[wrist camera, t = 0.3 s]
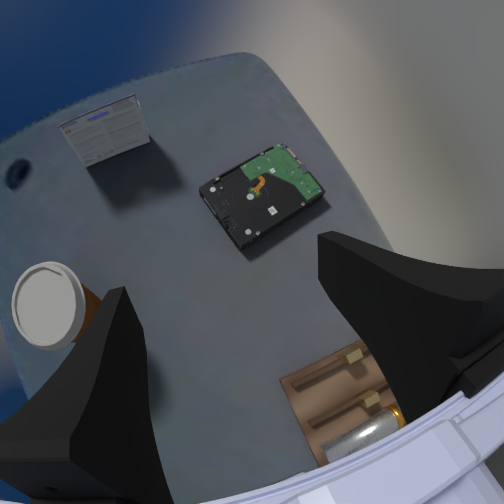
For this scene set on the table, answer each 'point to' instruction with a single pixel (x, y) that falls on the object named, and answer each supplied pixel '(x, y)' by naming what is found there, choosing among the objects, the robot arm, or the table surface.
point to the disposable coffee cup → (52, 306)
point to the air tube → (364, 433)
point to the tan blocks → (368, 397)
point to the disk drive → (260, 194)
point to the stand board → (334, 395)
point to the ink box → (107, 130)
